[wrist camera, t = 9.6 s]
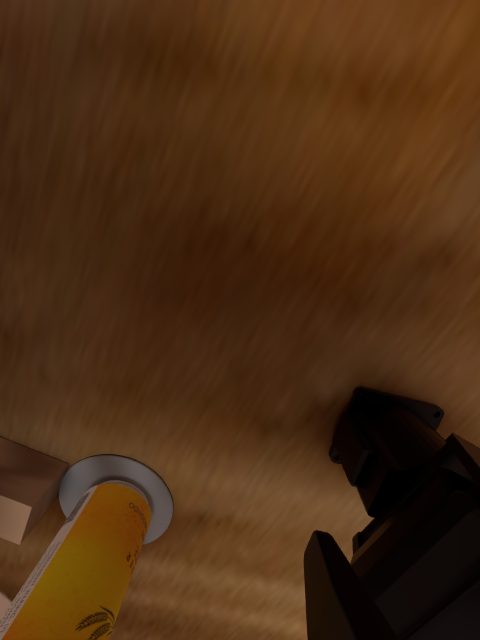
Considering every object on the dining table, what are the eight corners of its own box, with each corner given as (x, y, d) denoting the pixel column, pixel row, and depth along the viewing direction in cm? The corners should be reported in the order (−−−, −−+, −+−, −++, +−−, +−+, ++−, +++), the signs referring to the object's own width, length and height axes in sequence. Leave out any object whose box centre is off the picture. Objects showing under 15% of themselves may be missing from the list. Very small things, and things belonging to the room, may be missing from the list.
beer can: (132, 540, 25) (-29, 943, 11) (72, 506, 24) (-187, 894, 10) (168, 499, 24) (39, 903, 9) (106, 462, 23) (-141, 842, 8)
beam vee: (115, 389, 21) (85, 421, 17) (211, 569, 26) (204, 626, 22) (-40, 440, 23) (-98, 480, 19) (74, 599, 28) (46, 656, 24)
